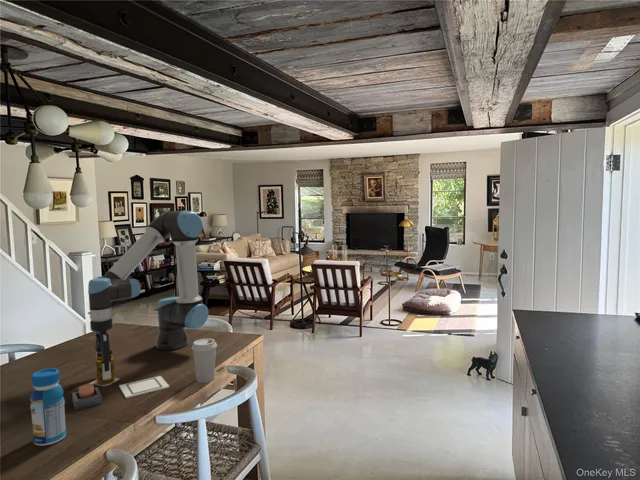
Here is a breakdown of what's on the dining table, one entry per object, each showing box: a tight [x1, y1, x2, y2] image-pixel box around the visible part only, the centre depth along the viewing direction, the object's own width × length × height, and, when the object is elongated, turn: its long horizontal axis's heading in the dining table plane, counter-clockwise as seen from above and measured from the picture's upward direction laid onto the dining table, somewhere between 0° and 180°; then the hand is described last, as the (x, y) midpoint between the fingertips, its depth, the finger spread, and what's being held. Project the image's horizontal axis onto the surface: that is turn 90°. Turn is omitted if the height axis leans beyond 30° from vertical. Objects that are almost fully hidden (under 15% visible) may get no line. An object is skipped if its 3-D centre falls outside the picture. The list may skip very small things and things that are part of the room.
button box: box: [71, 386, 103, 411], centre depth 149 cm, size 8×8×3 cm
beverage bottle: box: [29, 367, 67, 447], centre depth 125 cm, size 8×8×20 cm
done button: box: [78, 383, 95, 398], centre depth 149 cm, size 5×5×3 cm
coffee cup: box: [191, 338, 218, 384], centre depth 167 cm, size 10×10×15 cm
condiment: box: [88, 349, 121, 387], centre depth 167 cm, size 7×8×12 cm
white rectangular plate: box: [118, 375, 170, 399], centre depth 161 cm, size 15×12×1 cm
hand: (103, 373), depth 167 cm, fingers open, 13 cm apart
